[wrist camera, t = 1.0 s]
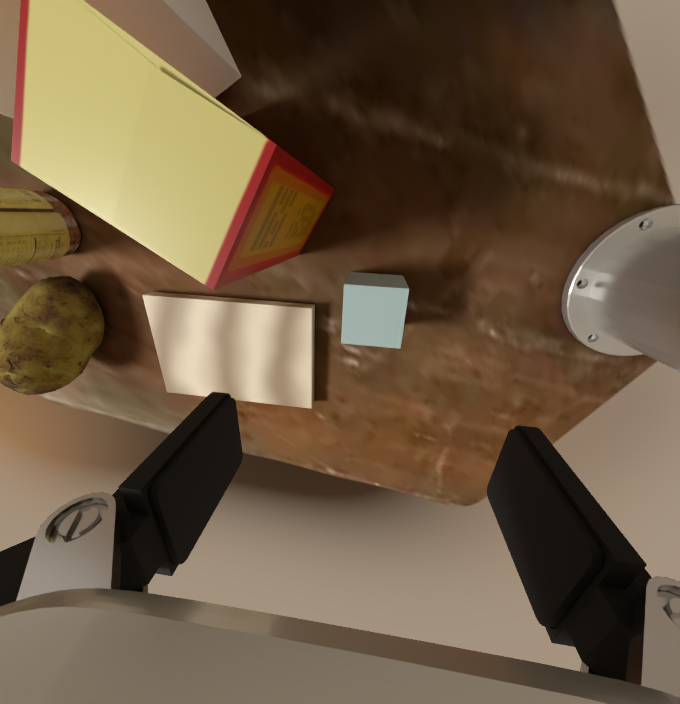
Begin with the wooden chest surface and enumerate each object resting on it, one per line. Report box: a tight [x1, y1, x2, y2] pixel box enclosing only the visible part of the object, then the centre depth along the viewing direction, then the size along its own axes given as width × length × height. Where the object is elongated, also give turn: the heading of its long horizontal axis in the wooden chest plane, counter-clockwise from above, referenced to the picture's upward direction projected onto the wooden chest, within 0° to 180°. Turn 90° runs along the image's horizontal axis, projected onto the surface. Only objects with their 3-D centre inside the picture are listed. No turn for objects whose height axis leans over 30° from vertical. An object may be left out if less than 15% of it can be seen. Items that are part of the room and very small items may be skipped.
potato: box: [0, 276, 104, 395], centre depth 30 cm, size 8×13×8 cm, turn 131°
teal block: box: [341, 272, 409, 348], centre depth 25 cm, size 5×5×6 cm
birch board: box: [142, 292, 315, 408], centre depth 32 cm, size 18×12×2 cm, turn 87°
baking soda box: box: [11, 0, 335, 290], centre depth 18 cm, size 10×6×16 cm
